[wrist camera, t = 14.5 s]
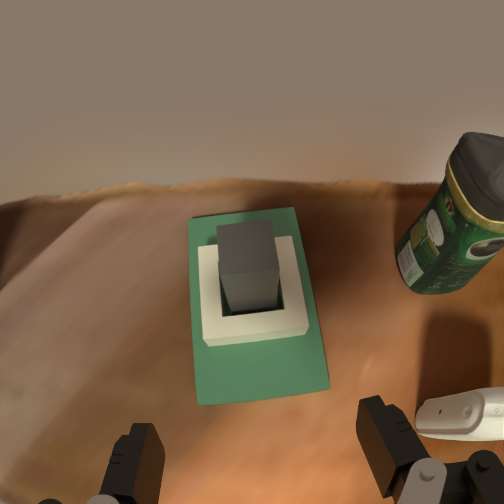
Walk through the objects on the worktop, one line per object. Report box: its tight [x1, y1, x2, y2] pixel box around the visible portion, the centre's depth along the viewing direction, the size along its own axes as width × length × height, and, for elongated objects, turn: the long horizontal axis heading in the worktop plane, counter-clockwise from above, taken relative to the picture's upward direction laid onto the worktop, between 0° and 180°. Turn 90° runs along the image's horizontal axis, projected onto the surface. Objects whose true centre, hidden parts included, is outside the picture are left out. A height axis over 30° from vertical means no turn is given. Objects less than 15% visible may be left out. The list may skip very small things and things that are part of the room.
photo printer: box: [415, 387, 504, 441], centre depth 19 cm, size 10×4×12 cm, turn 73°
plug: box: [216, 219, 280, 316], centre depth 27 cm, size 4×5×10 cm
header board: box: [188, 207, 330, 406], centre depth 30 cm, size 12×20×4 cm, turn 7°
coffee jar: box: [397, 132, 504, 295], centre depth 25 cm, size 10×8×19 cm
